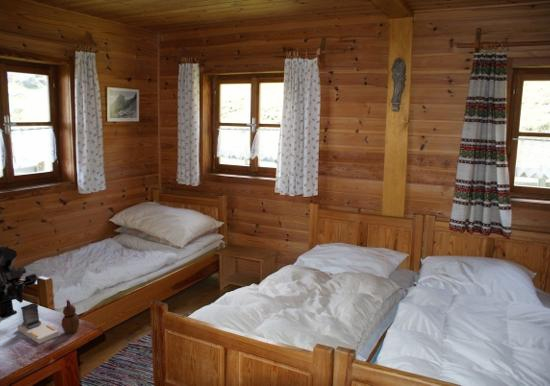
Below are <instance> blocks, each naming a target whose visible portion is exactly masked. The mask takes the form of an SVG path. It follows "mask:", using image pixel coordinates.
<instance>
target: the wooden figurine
mask: <svg viewBox="0 0 550 386" xmlns="http://www.w3.org/2000/svg"><path fill="white" fill-rule="evenodd" d="M76 310H77V308H76V306H74V305H73V304H71V301H70V299H67V300H66V305H65V306H64V307H63V310H62V313H63V317H62V318H61V328H62V329H63V331H64V332H65V334H73V333H75V332H77V330H78V329H79V326H80V317H79V315H78V313H77V312H76Z"/></svg>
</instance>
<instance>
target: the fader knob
mask: <svg viewBox="0 0 550 386" xmlns="http://www.w3.org/2000/svg"><path fill="white" fill-rule="evenodd" d="M38 307H39V305H38V304H37V303H35V302H32V303H30V304H27V305H24V306H21V307H20V309H21V313H22V322H21V324H22V325H24V326H25V327H27V328H29V329H30V328H32V327H35V326H38V325H40V324H41V322H40V321H41V320H40V318H39V309H38ZM39 320H40V321H39Z"/></svg>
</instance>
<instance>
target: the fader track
mask: <svg viewBox="0 0 550 386" xmlns="http://www.w3.org/2000/svg"><path fill="white" fill-rule="evenodd" d="M39 321H40V322H41V324H40V325H38V326H35V327H32V328H30V329H29V328H27V327H25V326H24V325H22V323H20V324H18V325H17V331H19V332H20V333H21V334H23V335H25V336H26V337H28V338H30V340H33V341H34V342H36V343H38V344H42V343H45V342H46V341H49V340H52V339H53V338H54V339H55V338H56V337H58V336H59V333H60V332H59V330H57V329H56V328H54V327H53V326H51V325H50V324H47V323H46V322H43V321H42V320H40V319H39Z"/></svg>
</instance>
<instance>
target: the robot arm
mask: <svg viewBox="0 0 550 386" xmlns="http://www.w3.org/2000/svg"><path fill="white" fill-rule="evenodd" d="M17 256H18V253H17V251H16V250H14V249H12V248H9V246H5V245H1V246H0V318H1V319H3V318H6V317H9V316H11V315H14V314H17V313H18V312H17V310H15V309H14V304H13V301H15V300H16V301H17V302H19V303H20V304H21V303H23V301H24V300H23V289H24V287H29V286H33V285H35V284H36V282H37V281H38V278H39V277H38V276H37V274H35V273H32V274H27V270H26V268H25V266H24V265H23V266H20V267H18V268H17V269H15V268H14V267H13V264H14V263H15V260H16V259H17ZM25 274H27V275H25ZM23 275H25V278H24V279H21V278H22V277H23Z"/></svg>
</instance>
